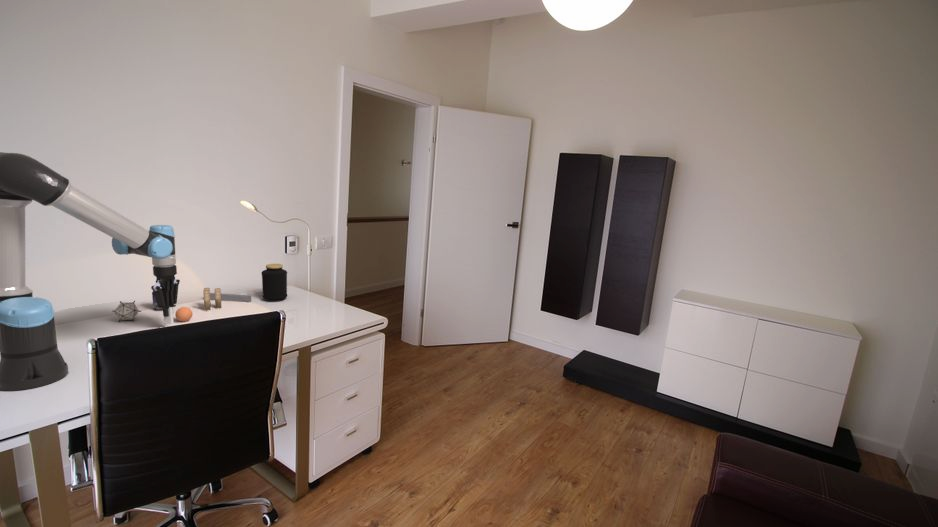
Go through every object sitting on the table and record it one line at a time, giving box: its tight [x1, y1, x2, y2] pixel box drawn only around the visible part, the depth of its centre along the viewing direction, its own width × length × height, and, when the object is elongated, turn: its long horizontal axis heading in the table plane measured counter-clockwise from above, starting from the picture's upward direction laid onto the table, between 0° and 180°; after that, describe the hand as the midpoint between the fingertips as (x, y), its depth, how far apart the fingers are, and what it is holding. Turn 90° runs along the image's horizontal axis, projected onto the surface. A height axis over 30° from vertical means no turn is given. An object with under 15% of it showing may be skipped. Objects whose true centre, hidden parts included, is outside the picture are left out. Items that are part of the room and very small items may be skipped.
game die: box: [111, 300, 142, 322], centre depth 179 cm, size 9×8×10 cm
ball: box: [175, 306, 194, 322], centre depth 182 cm, size 6×6×6 cm
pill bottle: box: [151, 284, 163, 312], centre depth 195 cm, size 6×6×11 cm
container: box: [261, 263, 289, 302], centre depth 219 cm, size 12×12×18 cm
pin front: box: [203, 290, 211, 311], centre depth 197 cm, size 2×2×9 cm
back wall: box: [210, 292, 252, 303], centre depth 215 cm, size 2×22×3 cm, turn 89°
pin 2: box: [214, 288, 222, 309], centre depth 202 cm, size 2×2×9 cm
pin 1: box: [203, 287, 212, 308], centre depth 202 cm, size 2×2×9 cm
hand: (168, 323), depth 173 cm, fingers closed
